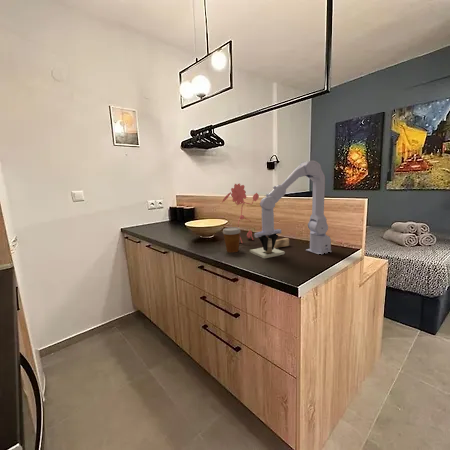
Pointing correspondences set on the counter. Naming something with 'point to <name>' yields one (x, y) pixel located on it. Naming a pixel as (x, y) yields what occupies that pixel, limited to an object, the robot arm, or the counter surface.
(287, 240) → the hinged leg
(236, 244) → the disposable coffee cup
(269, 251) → the loose leg
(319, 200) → the robot arm
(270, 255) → the stool seat
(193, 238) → the counter surface
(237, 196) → the figurine
